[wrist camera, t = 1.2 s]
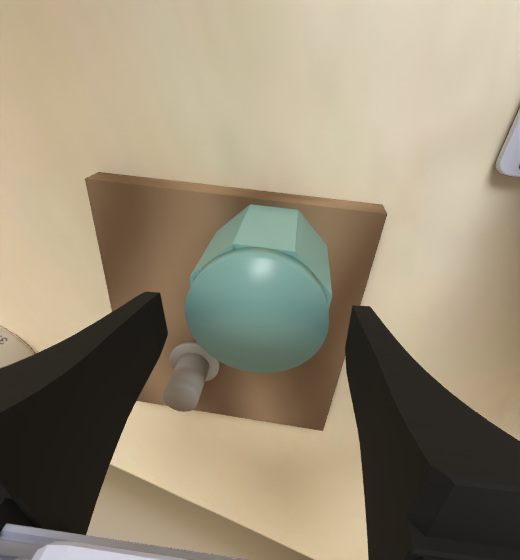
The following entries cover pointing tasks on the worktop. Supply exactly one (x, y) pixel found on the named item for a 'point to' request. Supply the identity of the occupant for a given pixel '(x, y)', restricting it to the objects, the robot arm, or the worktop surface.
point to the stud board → (176, 283)
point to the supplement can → (12, 348)
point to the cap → (261, 291)
